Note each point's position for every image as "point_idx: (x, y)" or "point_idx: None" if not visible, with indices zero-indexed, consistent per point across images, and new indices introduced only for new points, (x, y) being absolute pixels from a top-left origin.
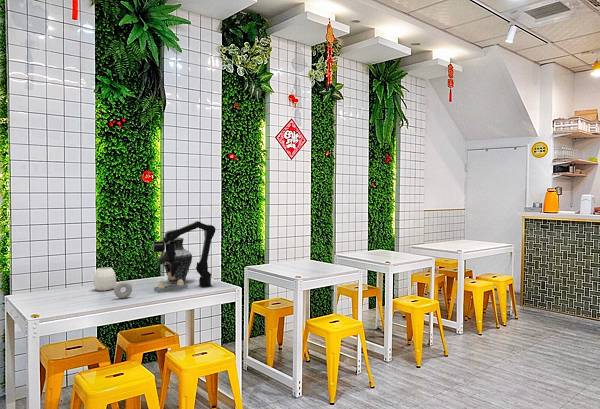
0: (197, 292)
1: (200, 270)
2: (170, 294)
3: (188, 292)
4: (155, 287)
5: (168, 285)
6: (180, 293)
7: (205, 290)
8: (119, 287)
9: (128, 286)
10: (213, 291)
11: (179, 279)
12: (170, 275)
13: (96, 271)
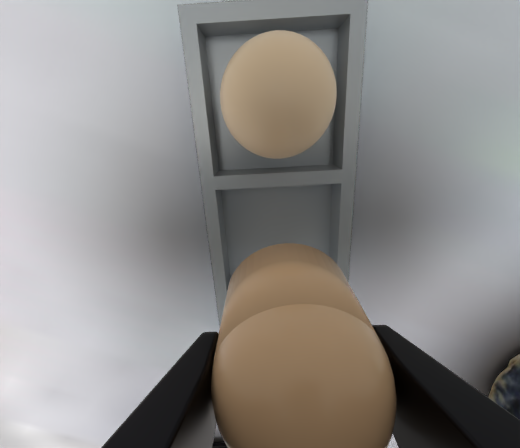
0: (12, 360)
1: None
2: (8, 127)
3: (43, 308)
4: (332, 10)
5: (338, 231)
6: (23, 236)
7: (69, 422)
8: None
9: None
10: (6, 445)
11: (516, 415)
12: (222, 337)
13: None
